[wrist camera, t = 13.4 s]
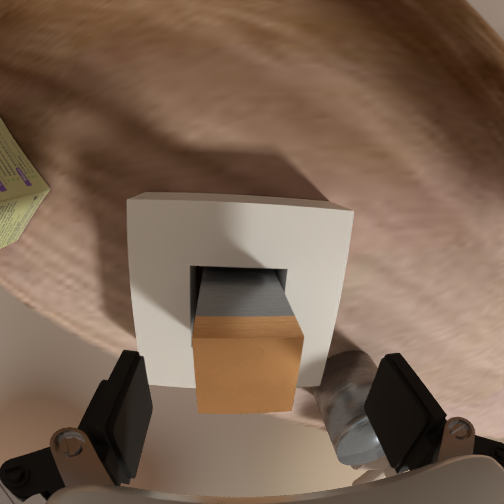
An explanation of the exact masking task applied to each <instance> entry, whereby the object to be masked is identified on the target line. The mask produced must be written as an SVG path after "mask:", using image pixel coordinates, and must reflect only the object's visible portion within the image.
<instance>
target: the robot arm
mask: <svg viewBox="0 0 504 504" xmlns="http://www.w3.org/2000/svg"><path fill="white" fill-rule="evenodd" d="M152 408H153V407H152V400H151V395H150V389H149V384H148V378H147V373H146V367H145V360H144V357H143V356H140V354H139V352H137V351H129V350H123V352H122V354H121V356H120V358H119V359H118V362H117V363H116V366H115V367H114V369H113V371H112V373H111V375H110V377H109V379H108V380H103V381H101V383H100V384H99V386H98V388H97V390H96V392H95V394H94V396H93V398H92V400H91V402H90V404H89V406H88V408H87V410H86V412H85V414H84V416H83V418H82V420H81V422H80V425H79V427H78V429H77V428H71V427H68V428H62V429H60V430H58V431H56V432H55V433H54V434H53V436H52V437H51V439H50V447H48V448H45V449H42V450H39V451H36V452H32V453H29V454H26V455H23V456H20V457H16V458H13V459H10V460H8V461H6V462H5V463H4V464H2V466H1V468H0V504H504V444H503V443H501V442H497V441H494V440H490V439H487V438H483V437H480V436H477V435H475V429H474V427H473V425H472V424H471V422H470V421H468V420H467V419H464V418H462V417H453V418H450V419H449V420H448V421H447V420H446V419H445V417H446V416H447V415H446V413H445V412H444V411H443V409H442V408H441V406H440V405H439V404H438V402H437V401H436V400H435V398H434V397H433V396H432V394H431V393H430V392H429V390H428V389H427V388H426V386H425V385H424V384H423V382H422V381H421V380H420V378H419V377H418V376H417V374H416V373H415V372H414V370H413V369H412V368H411V367H410V365H409V364H408V363H407V361H406V360H405V359H404V358H403V356H402V355H401V354H400V353H393V354H387V355H385V357H384V358H382V359H381V361H380V364H379V367H378V370H377V373H376V375H375V378H374V381H373V383H372V386H371V388H370V391H369V393H368V396H367V398H366V401H365V403H364V411H365V413H366V415H367V417H368V419H369V421H370V423H371V426H372V428H373V430H374V432H375V434H376V436H377V438H378V440H379V442H380V445H381V447H382V449H383V451H384V453H385V455H386V458H387V460H388V462H389V464H390V466H391V467H392V468H395V471H396V473H397V474H398V473H401V474H398V475H394V476H391V477H387V478H384V479H380V480H376V481H372V482H368V483H363V484H359V485H354V486H350V487H344V488H339V489H333V490H327V491H320V492H312V493H304V494H295V495H283V496H267V497H212V496H197V495H184V494H174V493H166V492H158V491H152V490H144V489H137V488H131V487H124V486H120V484H121V483H124V484H129V483H130V479H131V478H135V477H136V473H137V469H138V465H139V461H140V457H141V453H142V449H143V445H144V441H145V437H146V433H147V430H148V426H149V422H150V418H151V415H152ZM408 470H410V471H408ZM405 471H408V472H405ZM402 472H405V473H402Z"/></svg>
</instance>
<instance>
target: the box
mask: <svg viewBox="0 0 504 504" xmlns="http://www.w3.org/2000/svg"><path fill="white" fill-rule="evenodd" d="M50 190H51V189H50V187H49V186H48V185H47V183H46V182H45V181H44V180H43V179H42V177H41V176H40V175H39V173H38V172H37V171H36V169H35V168H34V167H33V165H32V164H31V163H30V161H29V160H28V158H27V157H26V156H25V154H24V153H23V151H22V150H21V149H20V147H19V146H18V144H17V143H16V141H15V140H14V138H13V137H12V135H11V134H10V132H9V131H8V129H7V127H6V126H5V124H4V122H3V121H2V119H1V118H0V249H1V248H3V247H5V246H7V245H9V244H11V243H13V242H15V241H17V240H18V239H19V238H20V236H21V234H22V232H23V231H24V229H25V227H26V226H27V224H28V223H29V221H30V219H31V218H32V216H33V215H34V213H35V212H36V210H37V209H38V207H39V206H40V204H41V203H42V201H43V200H44V198H45V197H46V195H47V194H48V192H49V191H50Z"/></svg>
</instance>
